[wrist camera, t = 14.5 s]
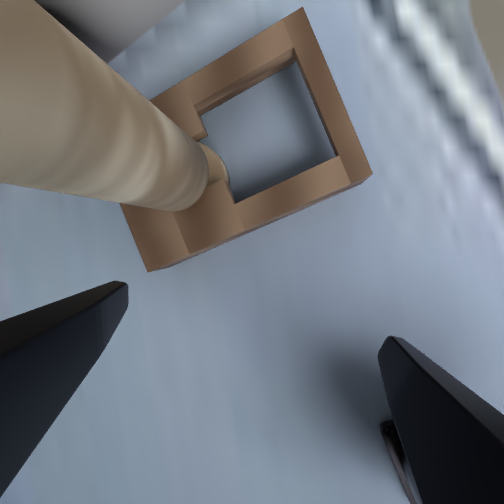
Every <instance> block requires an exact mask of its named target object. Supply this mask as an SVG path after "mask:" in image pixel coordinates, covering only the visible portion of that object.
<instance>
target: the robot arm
mask: <svg viewBox="0 0 504 504" xmlns="http://www.w3.org/2000/svg"><path fill="white" fill-rule="evenodd" d="M127 307H128V284H127V283H125V282H120V281H112V282H109V283H106V284H103V285H101V286H98V287H95V288H92V289H89V290H87V291H84V292H81V293H78V294H75V295H73V296H70V297H67V298H64V299H61V300H59V301H56V302H53V303H50V304H48V305H45V306H42V307H39V308H36V309H34V310H31V311H28V312H25V313H22V314H20V315H17V316H14V317H11V318H8V319H6V320H3V321H0V497H1V496H2V495H3V493H4V492H5V490H6V489H7V488H8V486H9V485H10V483H11V482H12V480H13V479H14V478H15V476H16V475H17V473H18V472H19V470H20V469H21V468H22V466H23V465H24V463H25V462H26V461H27V459H28V458H29V456H30V455H31V453H32V452H33V451H34V449H35V448H36V446H37V445H38V443H39V442H40V441H41V439H42V438H43V436H44V435H45V434H46V432H47V431H48V429H49V428H50V426H51V425H52V424H53V422H54V421H55V419H56V418H57V416H58V415H59V414H60V412H61V411H62V409H63V408H64V407H65V405H66V404H67V402H68V401H69V399H70V398H71V397H72V395H73V394H74V392H75V391H76V390H77V388H78V387H79V385H80V384H81V382H82V381H83V380H84V378H85V377H86V375H87V374H88V372H89V371H90V370H91V368H92V367H93V365H94V364H95V363H96V361H97V360H98V358H99V357H100V355H101V354H102V352H103V351H104V349H105V348H106V346H107V344H108V342H109V341H110V339H111V337H112V335H113V333H114V332H115V330H116V328H117V326H118V324H119V323H120V321H121V319H122V317H123V315H124V314H125V312H126V310H127ZM378 362H379V367H380V371H381V375H382V379H383V383H384V388H385V392H386V396H387V400H388V404H389V407H390V410H391V413H392V416H393V419H394V420H390V421H386V422H383V423H381V424H380V431H381V434H382V436H383V439H384V441H385V443H386V446H387V448H388V451H389V453H390V455H391V458H392V460H393V463H394V465H395V468H396V470H397V472H398V475H399V477H400V480H401V482H402V484H403V487H404V489H405V492H406V494H407V496H408V499H409V501H410V504H504V415H503V414H502V413H501V412H499V411H498V410H497V409H495V408H494V407H493V406H491V405H490V404H489V403H487V402H486V401H485V400H483V399H482V398H481V397H479V396H478V395H477V394H475V393H474V392H473V391H472V390H470V389H469V388H468V387H466V386H465V385H464V384H462V383H461V382H460V381H458V380H457V379H456V378H454V377H453V376H452V375H450V374H449V373H448V372H446V371H445V370H444V369H442V368H441V367H440V366H439V365H437V364H436V363H435V362H433V361H432V360H431V359H429V358H428V357H427V356H425V355H424V354H423V353H421V352H420V351H419V350H417V349H416V348H415V347H413V346H412V345H411V344H410V343H408V342H407V341H406V340H404V339H403V338H401V337H396V336H388V337H387V338H386V340H385V341H384V343H383V345H382V347H381V348H380V350H379V352H378ZM387 429H390V431H389V432H386V430H387Z"/></svg>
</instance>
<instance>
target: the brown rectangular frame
mask: <svg viewBox="0 0 504 504" xmlns="http://www.w3.org/2000/svg"><path fill="white" fill-rule="evenodd" d="M294 62H297V64H298V67H299V69H300V72H301V74H302V76H303V79H304V81H305V83H306V86H307V88H308V91H309V93H310V95H311V98H312V100H313V103H314V105H315V107H316V110H317V112H318V115H319V117H320V119H321V122H322V124H323V126H324V129H325V131H326V134H327V136H328V138H329V141H330V143H331V146H332V148H333V150H334V153H335V155H336V157H334V158H332V159H330V160H328V161H326V162H324V163H322V164H319V165H317V166H315V167H313V168H311V169H309V170H307V171H304V172H302V173H300V174H298V175H296V176H294V177H292V178H289V179H287V180H285V181H283V182H281V183H279V184H277V185H274V186H272V187H270V188H268V189H266V190H264V191H262V192H259V193H257V194H255V195H253V196H251V197H249V198H247V199H244V200H242V201H240V202H238V203H236V202H235V200H234V197H233V195H232V192H231V190H230V187H229V185H228V183H227V181H226V180H224V179H222V180H220V181H218V182H216V183H214V184H212V185H210V186H208V187H206V188H205V190H204V193H203V194H202V196H201V197H200V198H199V200H198V201H197V202H196V203H194V204H193V205H192V206H190V207H189V208H187V209H184V210H181V211H175V212H171V211H164V210H158V209H152V208H146V207H140V206H135V205H129V204H123V203H120V206H121V208H122V211H123V213H124V215H125V218H126V220H127V223H128V225H129V228H130V230H131V233H132V235H133V238H134V240H135V243H136V245H137V247H138V250H139V252H140V255H141V257H142V260H143V262H144V265H145V267H146V270H147V272H152V271H156V270H160V269H164V268H168V267H171V266H173V265H175V264H178V263H180V262H182V261H185V260H187V259H189V258H192V257H194V256H196V255H198V254H201V253H203V252H205V251H208V250H210V249H212V248H215V247H217V246H219V245H222V244H224V243H226V242H228V241H231V240H233V239H235V238H238V237H240V236H242V235H245V234H247V233H249V232H251V231H254V230H256V229H258V228H261V227H263V226H265V225H268V224H270V223H272V222H274V221H277V220H279V219H281V218H284V217H286V216H288V215H291V214H293V213H295V212H297V211H300V210H302V209H304V208H307V207H309V206H311V205H314V204H316V203H318V202H320V201H323V200H325V199H327V198H330V197H332V196H334V195H337V194H339V193H341V192H343V191H346V190H348V189H350V188H353V187H355V186H357V185H360V184H361V183H363V182H364V181H365V180H366V179H367V178H368V177H370V176H371V175H372V174H373V173H372V170H371V168H370V166H369V163H368V161H367V158H366V156H365V154H364V151H363V149H362V146H361V144H360V142H359V139H358V137H357V135H356V132H355V130H354V127H353V125H352V123H351V120H350V118H349V116H348V113H347V111H346V108H345V106H344V104H343V101H342V99H341V96H340V94H339V92H338V89H337V87H336V85H335V82H334V80H333V77H332V75H331V73H330V70H329V68H328V66H327V63H326V61H325V58H324V56H323V54H322V51H321V49H320V46H319V44H318V42H317V39H316V37H315V35H314V32H313V30H312V27H311V25H310V23H309V20H308V18H307V16H306V13H305V11H304V8H303V7H301V8H300V9H298V10H297V11H295V12H293V13H292V14H290V15H288V16H287V17H285V18H283V19H282V20H280V21H279V22H277V23H275V24H274V25H272V26H270V27H269V28H267V29H266V30H264V31H262V32H261V33H259V34H257V35H256V36H254V37H253V38H251V39H249V40H248V41H246V42H244V43H243V44H241V45H239V46H238V47H236V48H235V49H233V50H231V51H230V52H228V53H226V54H225V55H223V56H222V57H220V58H218V59H217V60H215V61H213V62H212V63H210V64H208V65H207V66H205V67H204V68H202V69H200V70H199V71H197V72H195V73H194V74H192V75H191V76H189V77H187V78H186V79H184V80H182V81H181V82H179V83H178V84H176V85H174V86H173V87H171V88H169V89H168V90H166V91H164V92H163V93H161V94H160V95H158V96H156V97H155V98H153V99H151V100H150V102H151V103H152V104H153V105H154V106H156V107H157V108H158V109H159V110H160V111H161V112H162V113H164V114H165V115H166V116H167V117H168V118H169V119H171V120H172V121H173V122H174V123H175V124H176V125H177V126H179V127H180V128H181V129H182V130H183V131H184V132H185V133H187V134H188V135H189V136H190V137H191V138H192V139H193V140H195V141H196V142H197V141H199V140H201V139H203V138H205V137H207V136H208V134H207V132H206V129H205V127H204V124H203V122H202V120H201V117H200V116H201V115H203V114H204V113H206V112H208V111H210V110H212V109H213V108H215V107H217V106H219V105H220V104H222V103H224V102H226V101H227V100H229V99H231V98H233V97H234V96H236V95H238V94H240V93H241V92H243V91H245V90H247V89H248V88H250V87H252V86H254V85H256V84H257V83H259V82H261V81H263V80H264V79H266V78H268V77H270V76H271V75H273V74H275V73H277V72H278V71H280V70H282V69H284V68H285V67H287V66H289V65H291V64H292V63H294Z"/></svg>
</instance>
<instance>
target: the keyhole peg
mask: <svg viewBox="0 0 504 504" xmlns="http://www.w3.org/2000/svg"><path fill="white" fill-rule="evenodd" d="M222 179H224V180H226V181H227V183H228V185H230V180H229V173H228V170H227V168H226V165H225V164H224V162H223V161H222V159H221V158H220V157H219V156H218V155H217V154H216V153H215V152H214V151H212V150H211V149H210V148H209V147H208V146H206V145H204V144H202V143H200V142H196V141H195V140H193V139H192V138H191V137H190V136H189V135H188V134H187V133H185V132H184V131H183V130H182V129H181V128H180V127H179V126H177V125H176V124H175V123H174V122H173V121H172V120H171V119H169V118H168V117H167V116H166V115H165V114H164V113H162V112H161V111H160V110H159V109H158V108H157V107H156V106H154V105H153V104H152V103H151V102H150V101H149V100H148V99H146V98H145V97H144V96H143V95H142V94H141V93H140V92H138V91H137V90H136V89H135V88H134V87H133V86H131V85H130V84H129V83H128V82H127V81H126V80H125V79H123V78H122V77H121V76H120V75H119V74H118V73H117V72H115V71H114V70H113V69H112V68H111V67H110V66H109V65H107V64H106V63H105V62H104V61H103V60H102V59H100V58H99V57H98V56H97V55H96V54H95V53H93V52H92V51H91V50H90V49H89V48H88V47H87V46H86V45H84V44H83V43H82V42H81V41H80V40H79V39H78V38H76V37H75V36H74V35H73V34H72V33H71V32H70V31H68V30H67V29H66V28H65V27H64V26H63V25H61V24H60V23H59V22H58V21H57V20H56V19H55V18H53V17H52V16H51V15H50V14H49V13H48V12H47V11H45V10H44V9H43V8H42V7H41V6H39V4H37V3H36V2H35V1H34V0H0V182H1V183H7V184H12V185H18V186H24V187H30V188H36V189H41V190H47V191H53V192H59V193H65V194H71V195H76V196H82V197H88V198H94V199H100V200H105V201H111V202H117V203H123V204H129V205H135V206H140V207H146V208H152V209H158V210H164V211H171V212H175V211H181V210H184V209H187V208H189V207H190V206H192V205H193V204H194V203H196V202H197V201H198V200H199V198H200V197H201V196H202V194H203V193H204V190H205V188H206V187H208V186H210V185H212V184H214V183H216V182H218V181H220V180H222Z"/></svg>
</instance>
